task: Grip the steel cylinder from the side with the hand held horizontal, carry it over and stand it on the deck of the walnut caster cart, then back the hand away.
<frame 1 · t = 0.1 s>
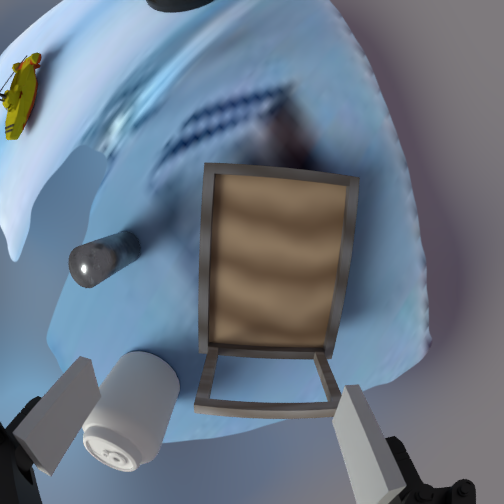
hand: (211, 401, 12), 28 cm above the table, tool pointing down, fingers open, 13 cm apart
caster cart: (271, 258, 39), on the table
steel cylinder: (126, 247, 39), on the table
toy boat: (32, 99, 33), on the table
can: (148, 376, 44), on the table
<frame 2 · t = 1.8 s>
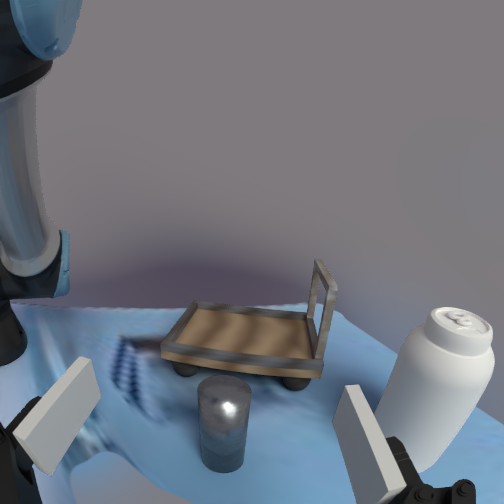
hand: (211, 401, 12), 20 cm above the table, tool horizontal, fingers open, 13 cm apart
caster cart: (244, 362, 47), on the table
steel cylinder: (222, 457, 26), on the table
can: (401, 445, 26), on the table
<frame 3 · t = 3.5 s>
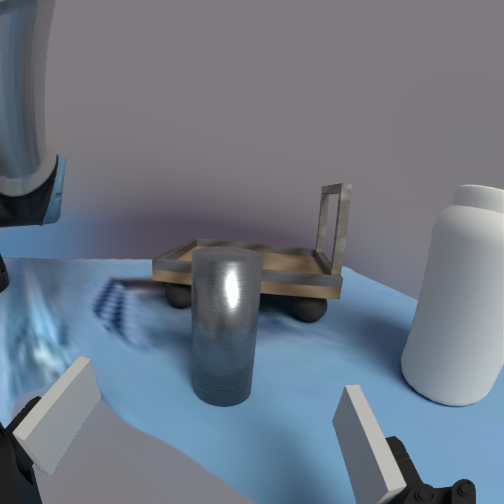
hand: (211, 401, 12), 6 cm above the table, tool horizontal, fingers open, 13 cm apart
caster cart: (248, 298, 43), on the table
steel cylinder: (222, 387, 22), on the table
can: (445, 376, 22), on the table
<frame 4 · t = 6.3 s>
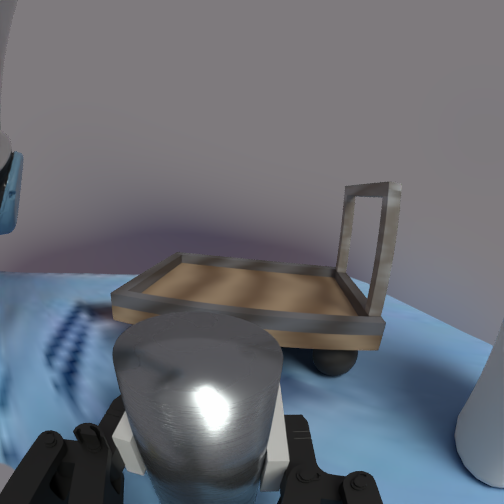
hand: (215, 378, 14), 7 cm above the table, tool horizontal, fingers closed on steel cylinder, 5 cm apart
caster cart: (247, 336, 32), on the table
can: (501, 443, 10), on the table
when the fingers open (14 cm above the table, at t = 10.7 s): steel cylinder drops 1 cm, resting on caster cart.
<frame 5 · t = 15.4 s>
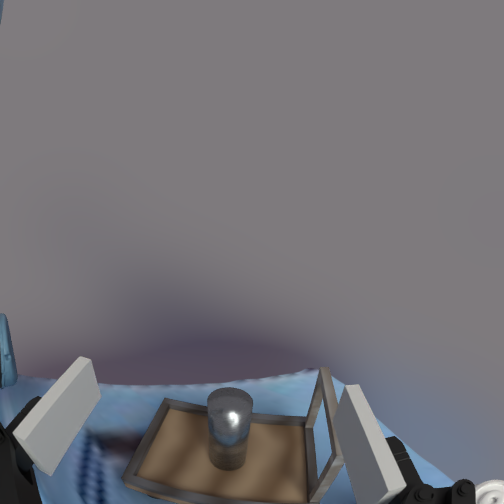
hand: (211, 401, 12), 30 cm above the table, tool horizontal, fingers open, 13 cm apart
caster cart: (226, 475, 31), on the table
steel cylinder: (227, 457, 29), point 6 cm above the table, touching caster cart
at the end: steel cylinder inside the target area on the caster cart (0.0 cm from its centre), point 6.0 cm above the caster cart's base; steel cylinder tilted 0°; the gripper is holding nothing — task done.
